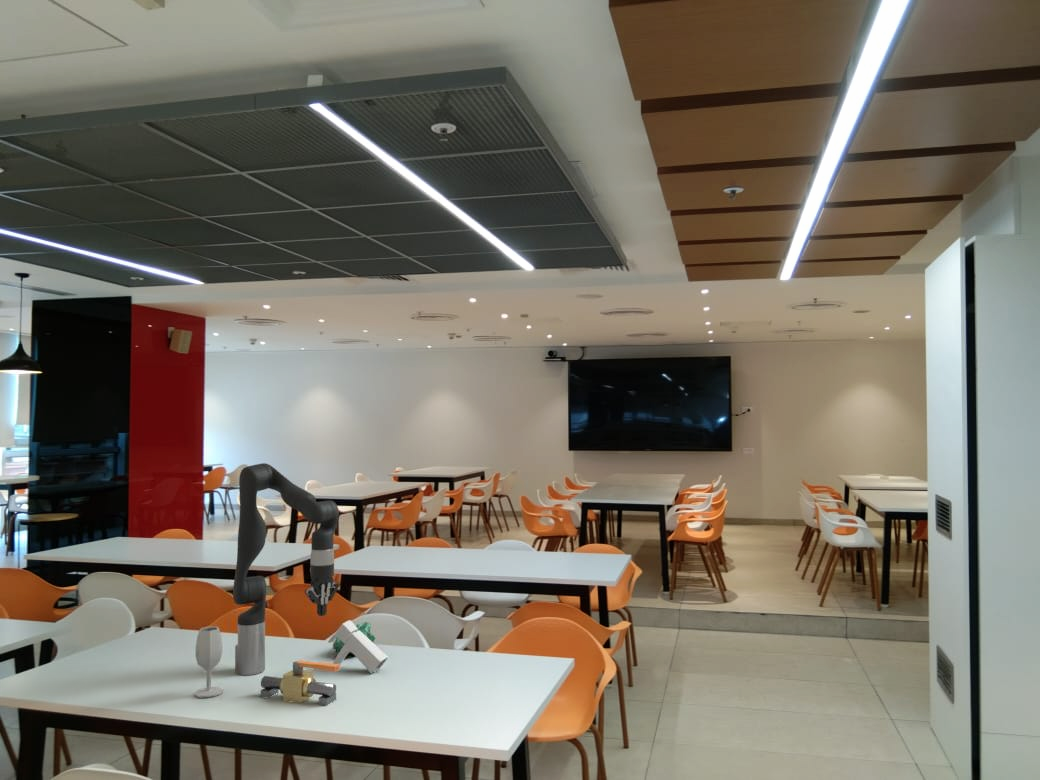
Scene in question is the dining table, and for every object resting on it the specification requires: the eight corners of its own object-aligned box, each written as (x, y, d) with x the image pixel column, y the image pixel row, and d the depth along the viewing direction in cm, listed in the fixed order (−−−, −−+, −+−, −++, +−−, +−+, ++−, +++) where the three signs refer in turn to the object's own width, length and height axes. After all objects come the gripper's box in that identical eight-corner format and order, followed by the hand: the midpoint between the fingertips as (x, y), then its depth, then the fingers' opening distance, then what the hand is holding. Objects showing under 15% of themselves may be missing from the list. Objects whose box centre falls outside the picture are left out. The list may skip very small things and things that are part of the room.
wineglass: (195, 700, 238) (195, 633, 239) (193, 692, 246) (193, 627, 247) (224, 695, 242) (224, 630, 243) (221, 687, 250) (221, 623, 251)
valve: (258, 697, 240) (258, 672, 240) (270, 691, 246) (270, 666, 246) (327, 706, 231) (327, 680, 232) (338, 699, 237) (338, 674, 237)
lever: (290, 673, 238) (290, 661, 238) (297, 670, 241) (297, 658, 241) (334, 678, 232) (334, 667, 232) (340, 675, 235) (340, 664, 235)
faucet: (380, 661, 260) (341, 621, 266) (354, 695, 263) (316, 655, 268) (389, 656, 266) (350, 617, 271) (363, 689, 269) (326, 650, 274)
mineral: (337, 646, 296) (337, 621, 296) (377, 644, 297) (377, 619, 298) (330, 661, 277) (330, 633, 278) (373, 658, 279) (373, 631, 279)
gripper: (313, 567, 238) (313, 621, 238) (345, 560, 249) (345, 612, 249) (298, 564, 243) (298, 618, 242) (330, 557, 253) (329, 609, 253)
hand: (321, 615), depth 245 cm, fingers closed
